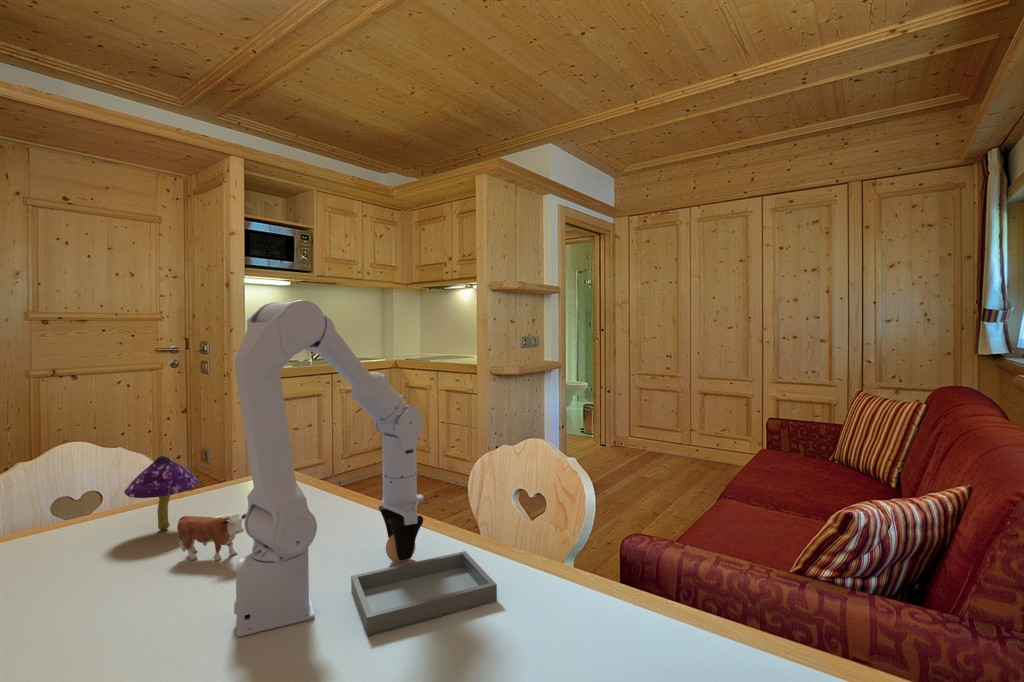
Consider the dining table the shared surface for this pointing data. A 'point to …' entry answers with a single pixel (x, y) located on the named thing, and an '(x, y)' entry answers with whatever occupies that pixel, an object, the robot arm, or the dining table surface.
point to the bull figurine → (209, 532)
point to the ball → (394, 550)
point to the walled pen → (420, 591)
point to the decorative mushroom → (161, 485)
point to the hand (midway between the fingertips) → (400, 552)
